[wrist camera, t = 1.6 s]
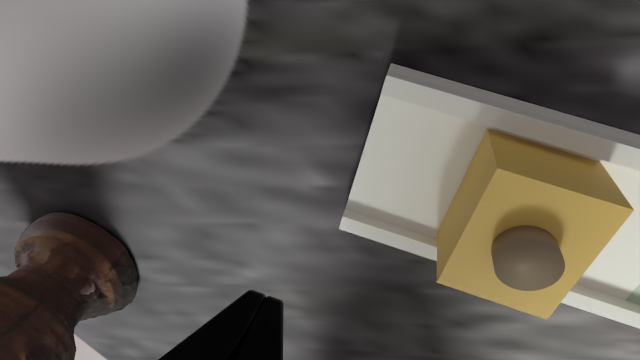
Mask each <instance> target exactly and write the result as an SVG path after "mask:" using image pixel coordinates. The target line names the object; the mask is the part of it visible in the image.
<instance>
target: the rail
mask: <svg viewBox="0 0 640 360" xmlns="http://www.w3.org/2000/svg"><path fill="white" fill-rule="evenodd" d="M487 129H490V130H494V131H497V132H501V133H504V134H507V135H511V136H514V137H517V138H521V139H524V140H527V141H531V142H534V143H538V144H541V145H544V146H548V147H551V148H554V149H558V150H561V151H564V152H568V153H571V154H575V155H578V156H581V157H585V158H588V159H591V160H595V161H598V162H601V163H602V165H603V166H604V168H605V169H606V171H607V172H608V173H609V175H610V176H611V178H612V179H613V181H614V182H615V183H616V185H617V186H618V188H619V189H620V191H621V192H622V193H623V195H624V196H625V198H626V199H627V201H628V202H629V203H630V205H631V206H632V208H633V209H634V211H633V212H632V213H631V215H630V216H629V217H628V218H627V220H626V221H625V222H624V223H623V225H622V226H621V227H620V229H619V230H618V231H617V232H616V234H615V235H614V236H613V237H612V239H611V240H610V241H609V242H608V244H607V245H606V246H605V247H604V249H603V250H602V251H601V252H600V254H599V255H598V256H597V257H596V259H595V260H594V261H593V262H592V264H591V265H590V266H589V267H588V269H587V270H586V271H585V272H584V274H583V275H582V276H581V277H580V279H579V280H578V281H577V282H576V284H575V285H574V286H573V287H572V289H571V290H570V291H569V292H568V294H567V295H566V296H565V297H564V299H563V300H562V301H561V303H564V304H567V305H570V306H573V307H576V308H579V309H582V310H585V311H588V312H591V313H594V314H597V315H600V316H603V317H606V318H609V319H612V320H615V321H618V322H621V323H624V324H627V325H630V326H633V327H636V328H639V329H640V135H638V134H635V133H631V132H628V131H624V130H621V129H618V128H614V127H611V126H607V125H604V124H600V123H597V122H593V121H590V120H586V119H583V118H579V117H576V116H573V115H569V114H566V113H562V112H559V111H555V110H552V109H548V108H545V107H541V106H538V105H534V104H531V103H528V102H524V101H521V100H517V99H514V98H510V97H507V96H503V95H500V94H496V93H493V92H490V91H486V90H483V89H479V88H476V87H472V86H469V85H465V84H462V83H458V82H455V81H451V80H448V79H445V78H441V77H438V76H434V75H431V74H427V73H424V72H420V71H417V70H413V69H410V68H406V67H403V66H400V65H396V64H393V63H391V64H390V67H389V70H388V72H387V75H386V78H385V81H384V85H383V88H382V91H381V95H380V99H379V102H378V105H377V108H376V111H375V115H374V118H373V121H372V124H371V127H370V131H369V134H368V137H367V140H366V144H365V147H364V150H363V153H362V156H361V160H360V163H359V166H358V169H357V173H356V176H355V179H354V182H353V185H352V189H351V192H350V195H349V198H348V201H347V205H346V208H345V211H344V214H343V217H342V220H341V223H340V226H339V229H341V230H344V231H347V232H350V233H353V234H356V235H359V236H362V237H365V238H368V239H371V240H374V241H377V242H380V243H383V244H386V245H389V246H392V247H395V248H398V249H401V250H404V251H407V252H410V253H413V254H416V255H419V256H422V257H425V258H428V259H431V260H434V261H437V232H438V230H439V228H440V226H441V224H442V222H443V220H444V218H445V216H446V214H447V211H448V209H449V207H450V205H451V203H452V201H453V199H454V197H455V195H456V193H457V191H458V189H459V187H460V185H461V183H462V181H463V178H464V176H465V174H466V172H467V170H468V168H469V166H470V164H471V162H472V160H473V158H474V156H475V154H476V152H477V150H478V147H479V145H480V143H481V141H482V139H483V137H484V135H485V133H486V131H487Z"/></svg>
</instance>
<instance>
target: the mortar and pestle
mask: <svg viewBox="0 0 640 360" xmlns="http://www.w3.org/2000/svg"><path fill="white" fill-rule="evenodd" d="M14 252H15V264H16V267H17V269H18V270H16V271H14V272H13V273H11V274H10V275H8V276H6V277H0V360H74V358H75V352H76V346H75V341H74V327H75V326H76V324H77V323H78V322H79V321H81V320H86V319H88V318H95V317H97V316H101V315H106V314H109V313H111V312H115V311H118V310H122V309H123V308H124V307H125V306H127V305H128V304H129V303H131V302H132V300H133V299H134V297H135V295H136V291H137V271H136V268H135V265H134V262H133V261H132V260H131V259H130V256H129V253H128V251H127V250H126V248H125V247H124V246H123V245H122V243H120V242H119V241H118V240H117V239H116V238H115V237H113V236H112V235H110V234H109V233H108V232H107V231H106V230H104V229H103V228H101V227H100V226H98V225H96V224H94V223H92V222H90V221H88V220H86V219H84V218H82V217H79V216H75V215H72V214H68V213H61V212H54V213H50V214H47V215H44V216H42V217H40V218H38V219H37V220H36V221H34V222H33V223H32V224H30V225H29V226H28V227H27V228H26V229H25V231H24V232H23V233H22V235H21V236H20V238H19V240H18V242H17V244H16V247H15V250H14Z"/></svg>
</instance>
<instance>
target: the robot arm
mask: <svg viewBox="0 0 640 360" xmlns="http://www.w3.org/2000/svg"><path fill="white" fill-rule="evenodd" d="M159 360H283V301H282V300H279V299H276V298H274V297H271V296H267V297H266V296H265V295H264V294H262V293H259V292H257V291H254V290H249V291H247V292H246V293H244V294H243V295H242V296H241V297H239V298H238V299H237V300H235V301H234V302H233V303H231V304H230V305H229V306H228V307H226V308H225V309H224V310H222V311H221V312H220V313H218V314H217V315H216V316H215V317H213V318H212V319H211V320H209V321H208V322H207V323H205V324H204V325H203V326H201V327H200V328H199V329H198V330H196V331H195V332H194V333H192V334H191V335H190V336H188V337H187V338H186V339H185V340H183V341H182V342H181V343H179V344H178V345H177V346H175V347H174V348H173V349H172V350H170V351H169V352H168V353H166V354H165V355H164V356H162V357H161V358H160V359H159Z"/></svg>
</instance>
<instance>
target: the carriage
mask: <svg viewBox="0 0 640 360" xmlns="http://www.w3.org/2000/svg"><path fill="white" fill-rule="evenodd" d="M633 211H634V209H633V208H632V206H631V205H630V203H629V202H628V201H627V199H626V198H625V196H624V195H623V193H622V192H621V191H620V189H619V188H618V186H617V185H616V183H615V182H614V181H613V179H612V178H611V176H610V175H609V173H608V172H607V171H606V169H605V168H604V166H603V165H602V163H601V162H598V161H595V160H591V159H588V158H585V157H581V156H578V155H575V154H571V153H568V152H564V151H561V150H558V149H554V148H551V147H548V146H544V145H541V144H538V143H534V142H531V141H527V140H524V139H521V138H517V137H514V136H511V135H507V134H504V133H501V132H497V131H494V130H490V129H487V131H486V133H485V135H484V137H483V139H482V141H481V143H480V145H479V147H478V150H477V152H476V154H475V156H474V158H473V160H472V162H471V164H470V166H469V168H468V170H467V172H466V174H465V176H464V178H463V181H462V183H461V185H460V187H459V189H458V191H457V193H456V195H455V197H454V199H453V201H452V203H451V205H450V207H449V209H448V211H447V214H446V216H445V218H444V220H443V222H442V224H441V226H440V228H439V230H438V232H437V283H439V284H442V285H445V286H448V287H451V288H454V289H457V290H460V291H463V292H466V293H469V294H472V295H475V296H478V297H481V298H484V299H487V300H490V301H493V302H496V303H499V304H502V305H505V306H508V307H511V308H514V309H517V310H520V311H523V312H526V313H529V314H532V315H535V316H538V317H541V318H544V319H548V318H549V316H550V315H551V314H552V313H553V311H554V310H555V309H556V308H557V306H558V305H559V304H560V302H561V301H562V300H563V299H564V297H565V296H566V295H567V294H568V292H569V291H570V290H571V289H572V287H573V286H574V285H575V284H576V282H577V281H578V280H579V279H580V277H581V276H582V275H583V274H584V272H585V271H586V270H587V269H588V267H589V266H590V265H591V264H592V262H593V261H594V260H595V259H596V257H597V256H598V255H599V254H600V252H601V251H602V250H603V249H604V247H605V246H606V245H607V244H608V242H609V241H610V240H611V239H612V237H613V236H614V235H615V234H616V232H617V231H618V230H619V229H620V227H621V226H622V225H623V223H624V222H625V221H626V220H627V218H628V217H629V216H630V215H631V213H632V212H633Z"/></svg>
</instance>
